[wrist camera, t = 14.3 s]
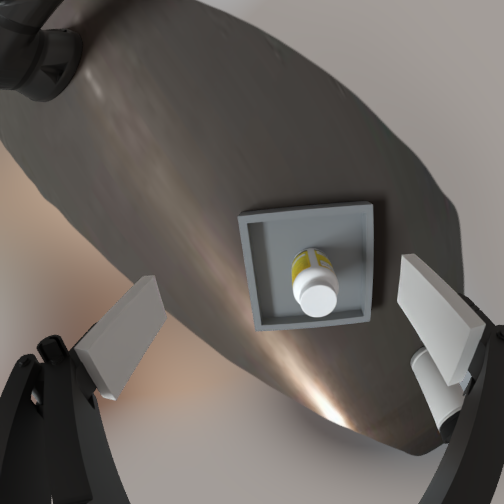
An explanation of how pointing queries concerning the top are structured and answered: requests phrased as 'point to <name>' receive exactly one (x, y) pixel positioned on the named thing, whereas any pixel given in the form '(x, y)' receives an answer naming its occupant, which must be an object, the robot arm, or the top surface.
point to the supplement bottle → (314, 282)
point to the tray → (294, 241)
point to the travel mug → (438, 393)
